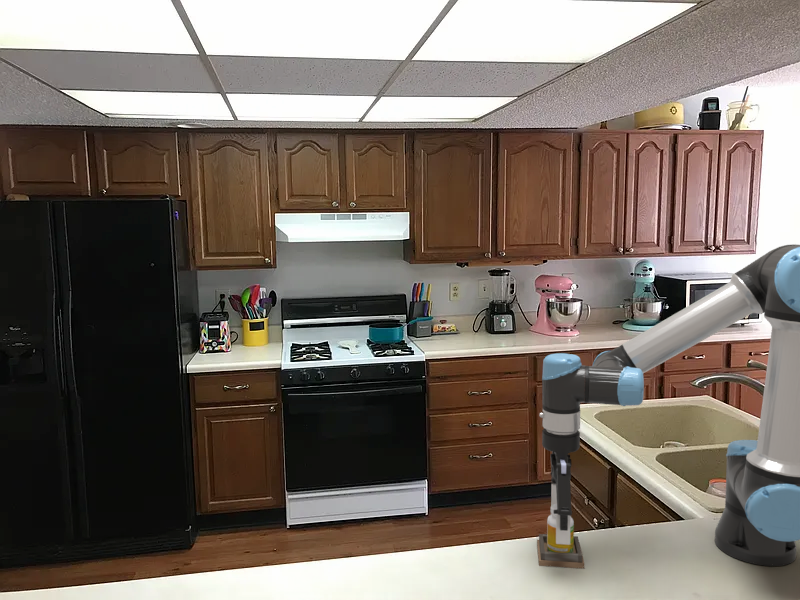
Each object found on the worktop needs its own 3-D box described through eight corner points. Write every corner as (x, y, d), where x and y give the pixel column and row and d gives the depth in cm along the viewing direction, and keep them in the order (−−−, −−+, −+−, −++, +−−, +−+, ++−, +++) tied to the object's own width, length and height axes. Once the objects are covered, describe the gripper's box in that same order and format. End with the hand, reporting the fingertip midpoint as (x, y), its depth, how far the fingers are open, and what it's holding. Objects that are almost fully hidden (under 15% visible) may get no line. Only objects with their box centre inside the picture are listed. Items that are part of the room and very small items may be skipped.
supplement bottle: (574, 559, 130) (574, 514, 129) (547, 557, 131) (547, 512, 130) (572, 546, 135) (573, 502, 134) (546, 544, 136) (547, 501, 135)
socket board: (579, 546, 137) (579, 535, 137) (584, 568, 128) (584, 556, 128) (537, 543, 139) (537, 533, 138) (539, 565, 130) (539, 554, 130)
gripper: (539, 411, 143) (538, 501, 146) (545, 449, 119) (545, 556, 121) (573, 412, 142) (572, 502, 144) (587, 451, 118) (586, 559, 120)
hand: (560, 527), depth 133 cm, fingers open, 13 cm apart
